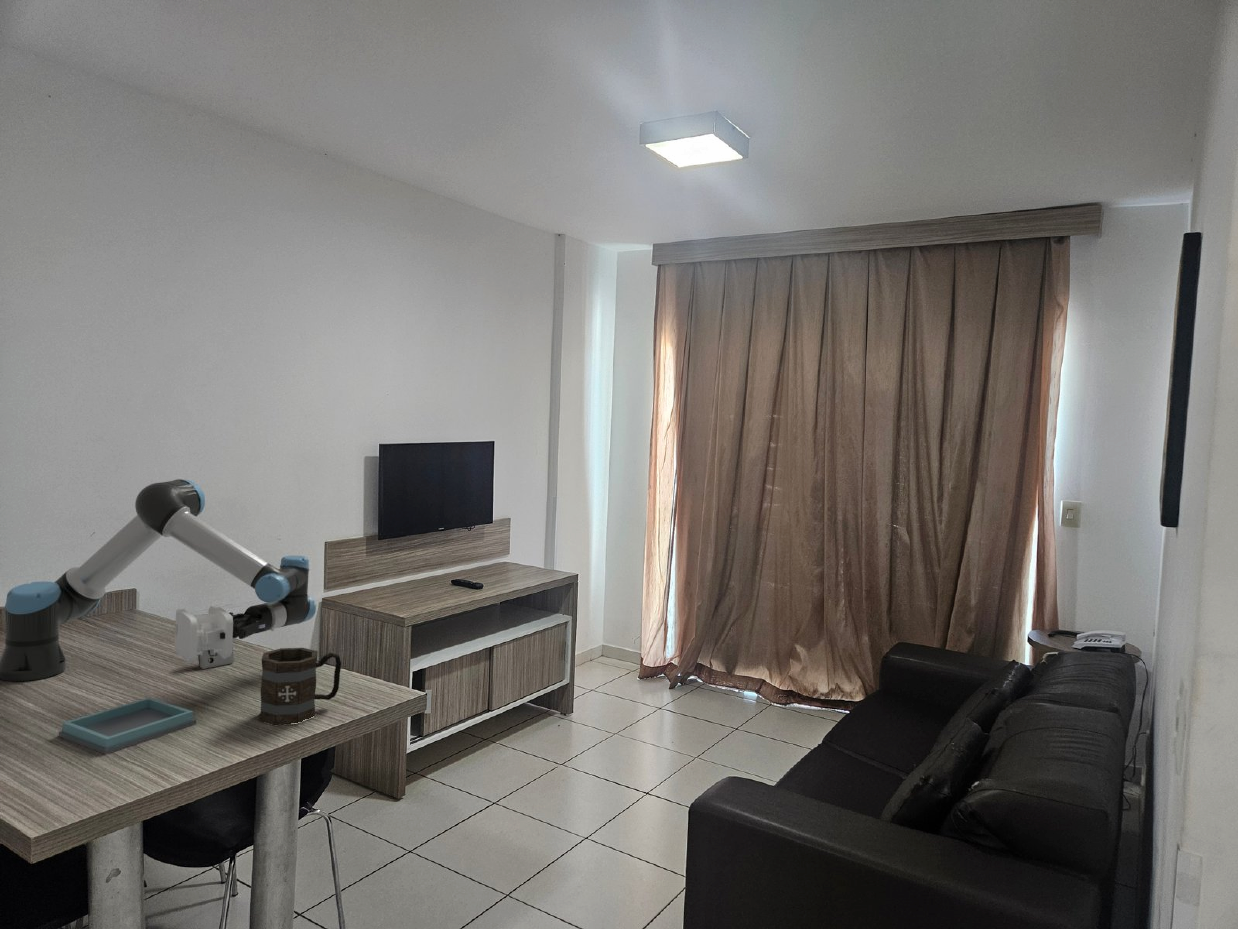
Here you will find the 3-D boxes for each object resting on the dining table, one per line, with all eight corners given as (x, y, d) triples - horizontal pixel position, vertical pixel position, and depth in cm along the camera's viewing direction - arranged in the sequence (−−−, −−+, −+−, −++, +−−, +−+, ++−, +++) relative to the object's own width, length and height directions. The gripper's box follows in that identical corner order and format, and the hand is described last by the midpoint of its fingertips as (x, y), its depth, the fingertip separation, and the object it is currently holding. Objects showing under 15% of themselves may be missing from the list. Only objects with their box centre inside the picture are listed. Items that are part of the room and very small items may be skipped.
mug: (268, 730, 189) (271, 667, 189) (249, 712, 199) (252, 652, 199) (350, 713, 202) (352, 654, 202) (328, 697, 213) (330, 641, 212)
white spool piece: (172, 651, 209) (174, 607, 209) (216, 645, 216) (218, 602, 216) (188, 667, 198) (190, 620, 198) (234, 660, 205) (236, 615, 205)
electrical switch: (201, 670, 228) (201, 637, 228) (193, 667, 231) (193, 635, 231) (235, 663, 235) (234, 631, 235) (226, 661, 238) (226, 629, 238)
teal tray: (58, 736, 179) (58, 723, 179) (150, 708, 198) (150, 696, 198) (105, 754, 172) (105, 740, 171) (196, 723, 190) (196, 711, 190)
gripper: (294, 638, 218) (222, 657, 198) (234, 623, 229) (160, 640, 209) (295, 611, 218) (223, 627, 198) (235, 597, 228) (161, 611, 208)
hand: (191, 633), depth 203 cm, fingers closed on white spool piece, 11 cm apart
